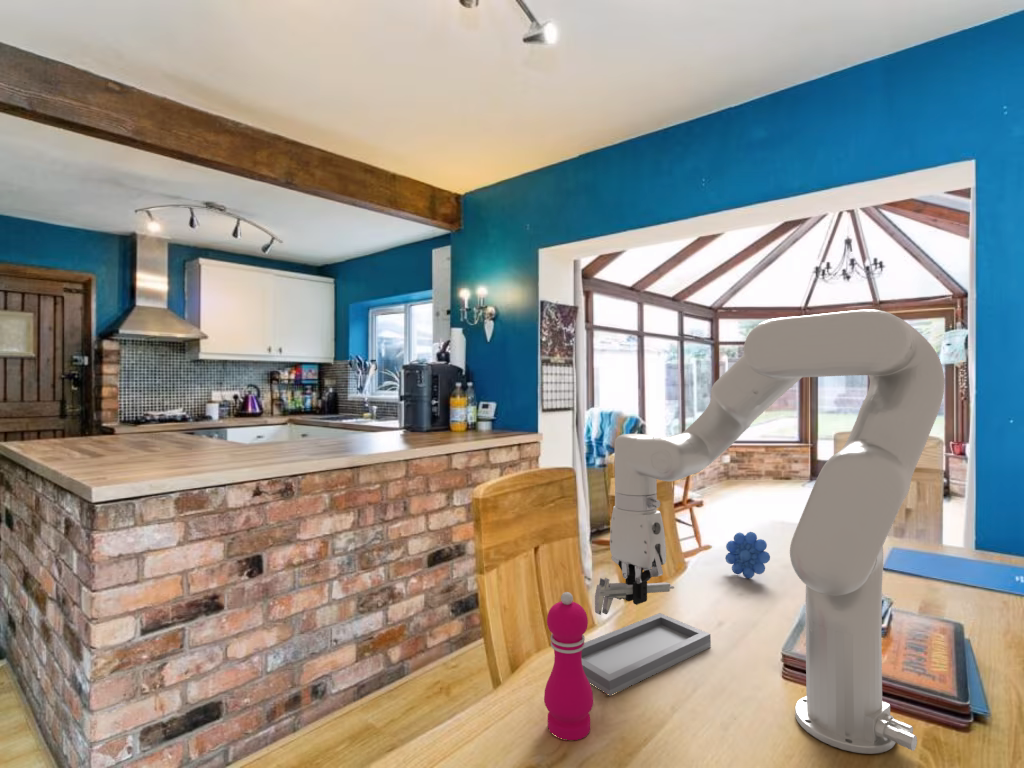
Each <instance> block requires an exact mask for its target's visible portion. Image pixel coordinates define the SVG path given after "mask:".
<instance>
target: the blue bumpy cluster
mask: <svg viewBox="0 0 1024 768" xmlns="http://www.w3.org/2000/svg"><path fill="white" fill-rule="evenodd" d="M767 545H768V544H767V542H766V540H764V539H762V538H758V536H757V533H755V532H752V531H749V532H747V533H746V534H744V533H742V532H739V531H738V532H736V534H735V535H734V536H733V540H730V541H728V542H727V543H726V545H725V548H726V550H727V552H728V553H727V554H726V555H725V562H726V563H727V564H729V565H731V570H732V573H733V574H735V575H741V574H742V576H743V577H744V578H745V579H752V578H753V577H754V576H755V574H757V575H762V574H763V573H764V572H765V571H766V566H765V564H767V563H769V562H770V559H771V556H770V553H769V552H768V551H765V550H766V549H767Z"/></svg>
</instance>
